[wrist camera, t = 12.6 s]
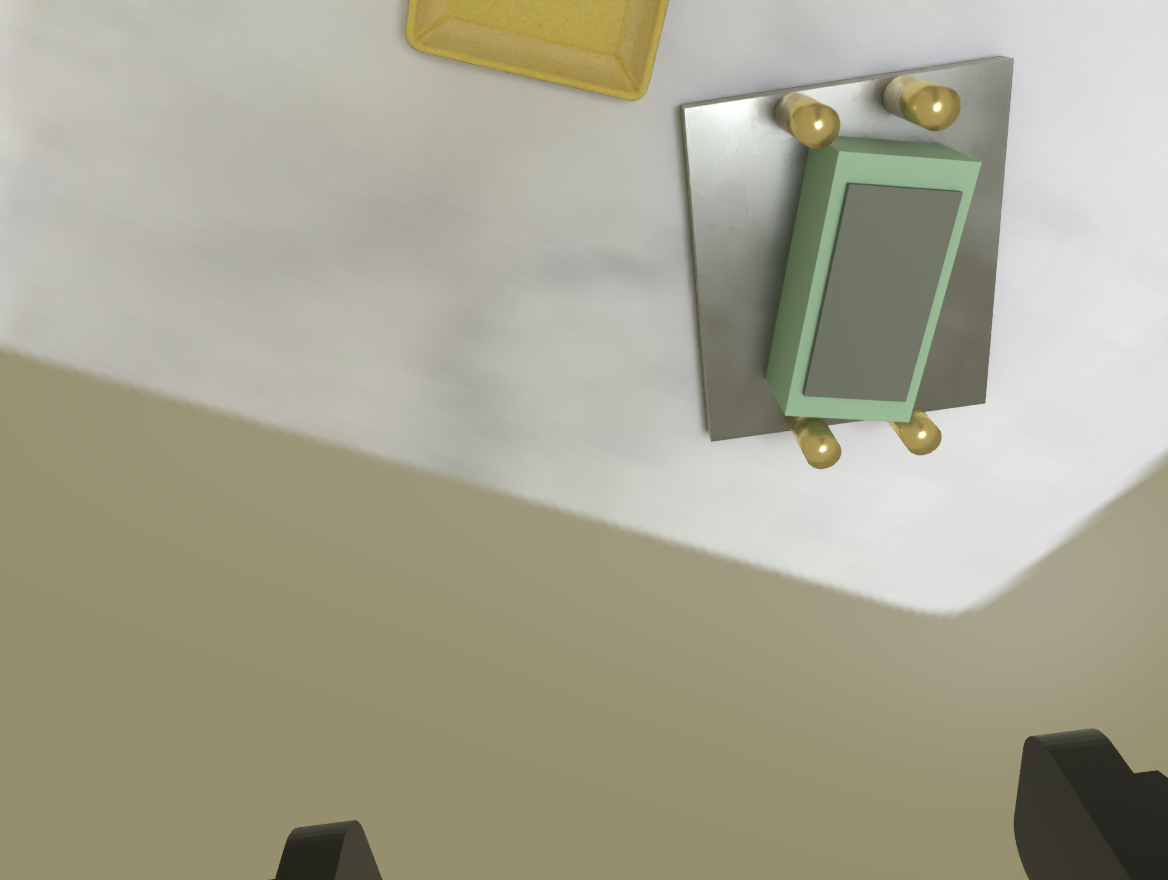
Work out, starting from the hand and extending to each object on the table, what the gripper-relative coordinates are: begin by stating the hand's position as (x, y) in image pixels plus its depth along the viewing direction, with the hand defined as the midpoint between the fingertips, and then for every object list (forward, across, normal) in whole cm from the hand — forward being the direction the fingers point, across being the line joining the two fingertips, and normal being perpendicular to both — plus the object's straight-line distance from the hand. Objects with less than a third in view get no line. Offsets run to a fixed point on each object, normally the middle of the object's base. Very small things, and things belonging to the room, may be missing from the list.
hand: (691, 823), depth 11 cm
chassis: (+28, -10, +3) cm, 30 cm away
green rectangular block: (+27, -10, +3) cm, 29 cm away
